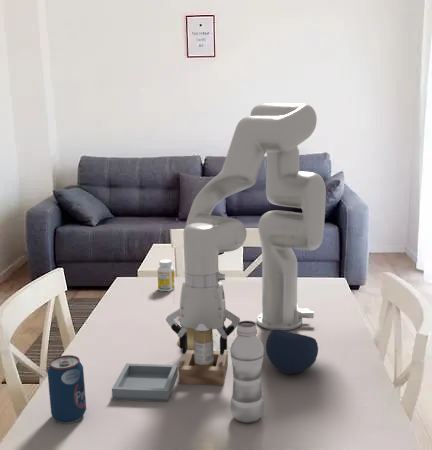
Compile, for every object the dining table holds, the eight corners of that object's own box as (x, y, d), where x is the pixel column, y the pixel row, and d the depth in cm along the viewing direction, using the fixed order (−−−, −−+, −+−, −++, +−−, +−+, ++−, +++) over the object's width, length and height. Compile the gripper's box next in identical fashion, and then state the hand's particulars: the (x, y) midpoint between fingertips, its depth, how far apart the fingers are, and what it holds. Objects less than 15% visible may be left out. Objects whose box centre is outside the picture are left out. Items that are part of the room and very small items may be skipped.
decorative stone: (313, 386, 132) (314, 343, 130) (260, 379, 135) (260, 338, 133) (320, 362, 143) (321, 323, 140) (271, 357, 146) (271, 318, 144)
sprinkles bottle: (209, 367, 141) (207, 314, 138) (217, 375, 137) (216, 320, 134) (191, 372, 139) (189, 317, 136) (199, 380, 135) (197, 324, 132)
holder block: (227, 364, 143) (227, 351, 142) (223, 385, 133) (223, 370, 132) (186, 363, 144) (185, 349, 143) (179, 383, 134) (178, 369, 133)
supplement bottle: (164, 293, 193) (163, 264, 191) (155, 289, 197) (153, 260, 195) (177, 289, 196) (176, 261, 194) (168, 285, 200) (167, 257, 198)
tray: (177, 375, 138) (177, 365, 137) (168, 401, 126) (167, 391, 126) (126, 373, 139) (126, 363, 139) (112, 399, 128) (111, 388, 127)
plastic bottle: (228, 410, 123) (227, 318, 118) (261, 408, 123) (261, 316, 119) (232, 428, 116) (230, 331, 112) (266, 425, 117) (266, 329, 112)
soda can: (86, 422, 119) (82, 367, 116) (50, 427, 118) (45, 371, 115) (86, 405, 126) (82, 352, 123) (52, 409, 124) (47, 355, 122)
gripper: (242, 274, 136) (242, 346, 140) (166, 273, 138) (169, 344, 142) (239, 285, 128) (240, 360, 132) (159, 283, 130) (162, 358, 134)
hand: (203, 351), depth 137 cm, fingers open, 8 cm apart
